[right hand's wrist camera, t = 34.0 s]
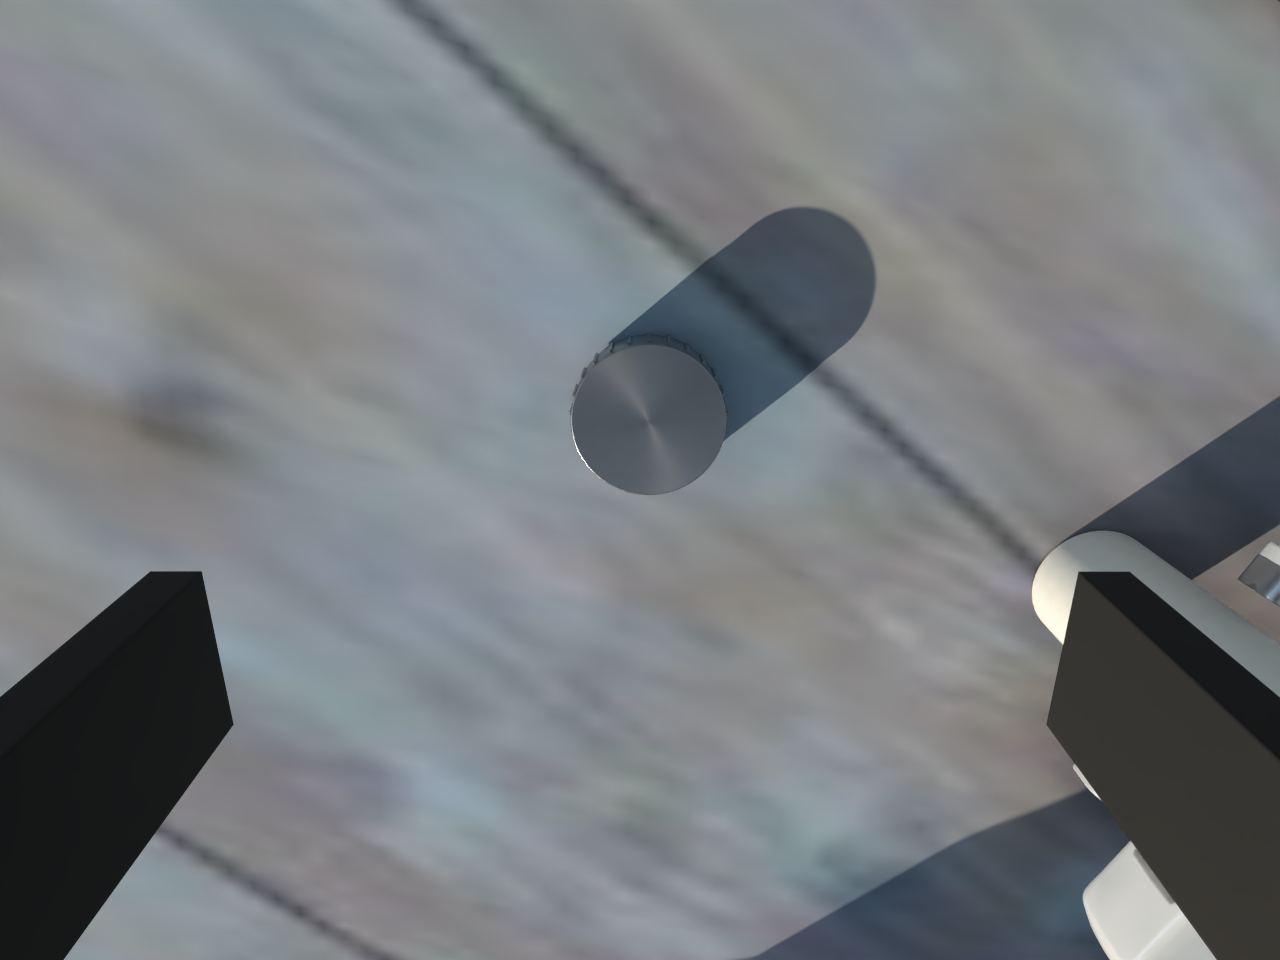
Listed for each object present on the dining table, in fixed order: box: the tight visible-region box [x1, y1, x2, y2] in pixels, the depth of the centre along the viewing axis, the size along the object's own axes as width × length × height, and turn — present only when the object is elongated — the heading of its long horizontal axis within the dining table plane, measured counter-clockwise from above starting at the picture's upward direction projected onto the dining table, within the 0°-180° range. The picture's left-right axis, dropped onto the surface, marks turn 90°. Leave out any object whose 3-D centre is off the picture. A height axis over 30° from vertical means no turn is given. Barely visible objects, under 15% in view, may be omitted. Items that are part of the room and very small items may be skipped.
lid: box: [570, 333, 728, 495], centre depth 29 cm, size 5×5×2 cm
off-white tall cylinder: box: [1032, 531, 1280, 697], centre depth 24 cm, size 5×5×17 cm
